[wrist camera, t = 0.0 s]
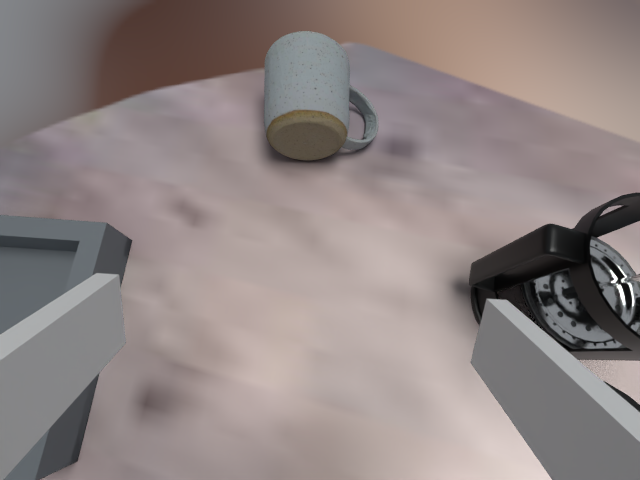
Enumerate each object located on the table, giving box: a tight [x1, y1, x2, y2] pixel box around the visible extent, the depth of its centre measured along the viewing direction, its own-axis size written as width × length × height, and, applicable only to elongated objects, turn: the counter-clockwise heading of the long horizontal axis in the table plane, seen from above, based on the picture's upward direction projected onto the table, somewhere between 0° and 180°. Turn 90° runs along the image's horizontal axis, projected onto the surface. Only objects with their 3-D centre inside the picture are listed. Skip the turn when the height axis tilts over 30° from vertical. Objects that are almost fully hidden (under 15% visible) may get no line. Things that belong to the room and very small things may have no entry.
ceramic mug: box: [264, 31, 378, 160], centre depth 30 cm, size 11×8×8 cm
